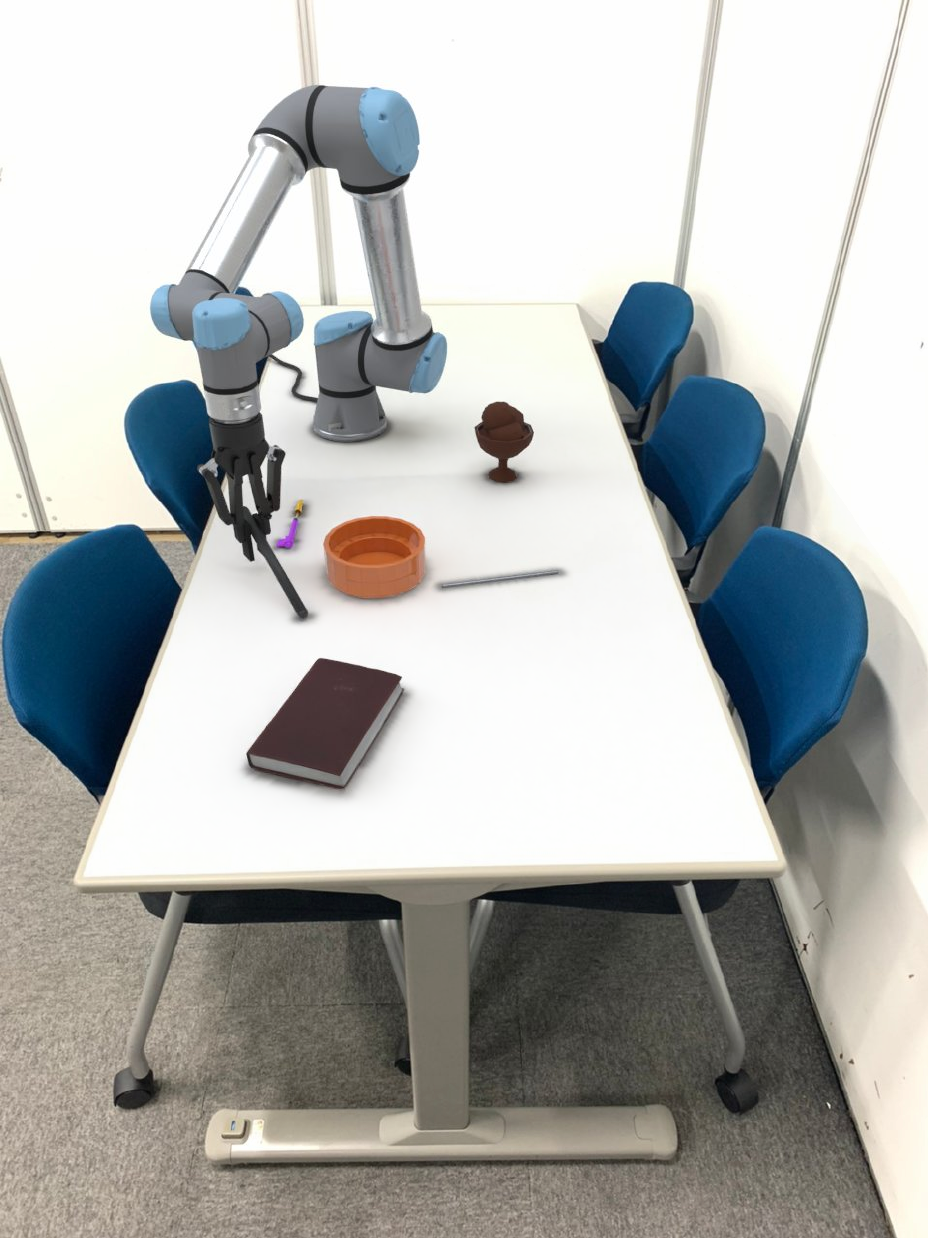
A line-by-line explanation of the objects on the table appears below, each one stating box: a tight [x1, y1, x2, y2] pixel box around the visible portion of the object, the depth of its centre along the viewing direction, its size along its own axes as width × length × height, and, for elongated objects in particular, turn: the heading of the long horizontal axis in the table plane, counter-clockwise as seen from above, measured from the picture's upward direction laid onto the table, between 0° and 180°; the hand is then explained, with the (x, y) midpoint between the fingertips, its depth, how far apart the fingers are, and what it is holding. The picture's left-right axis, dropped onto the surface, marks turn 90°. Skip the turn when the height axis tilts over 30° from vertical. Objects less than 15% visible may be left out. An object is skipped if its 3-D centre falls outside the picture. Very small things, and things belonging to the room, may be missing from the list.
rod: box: [440, 569, 559, 589], centre depth 141 cm, size 1×19×1 cm, turn 103°
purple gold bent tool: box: [276, 499, 304, 549], centre depth 154 cm, size 3×1×16 cm
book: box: [245, 657, 405, 790], centre depth 112 cm, size 12×19×3 cm, turn 161°
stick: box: [243, 505, 309, 620], centre depth 135 cm, size 20×2×10 cm, turn 35°
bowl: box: [323, 515, 427, 599], centre depth 140 cm, size 16×16×6 cm
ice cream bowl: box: [473, 400, 535, 484], centre depth 165 cm, size 11×11×15 cm
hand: (256, 554), depth 141 cm, fingers closed
